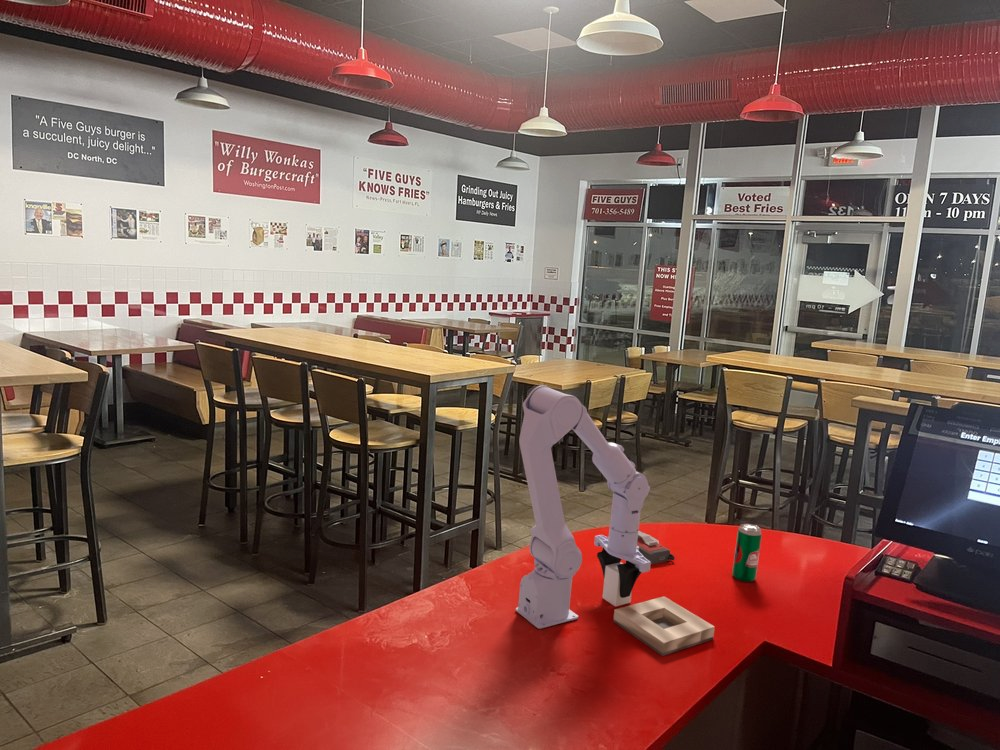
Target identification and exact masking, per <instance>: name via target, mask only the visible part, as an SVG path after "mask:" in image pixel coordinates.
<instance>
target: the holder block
mask: <svg viewBox="0 0 1000 750" xmlns="http://www.w3.org/2000/svg"><path fill="white" fill-rule="evenodd" d="M613 623H614V624H616V625H617V626H619V627H620V628H621V629H623V630H624V631H626V632H628V633H629V634H630V635H632V636H633V637H634V638H636V639H637V640H639V641H640V642H641V643H644V645H646V646H648V647H649V648H650V649H652V650H653V651H654V652H656V653H657V654H659V655H660V656H662V657H663V656H666V655H669V654H672V653H676V652H679V651H682V650H685V649H688V648H691V647H694V646H697V645H699V644H703V643H706V642H709V641H712V640H714V636H715V626H714V625H713V624H711V623H710V622H708V621H706V620H704V619H703V618H701V617H700V616H698V615H697V614H694V613H693V612H691V611H689V610H688V609H686V608H684V607H683V606H681V605H679V604H678V603H677V602H674V601H672V600H671V599H670V598H668V597H666V596H660V597H656V598H653V599H649V600H645V601H642V602H638V603H633V604H631V605H627V606H623V607H619V608H616V609H614V613H613Z"/></svg>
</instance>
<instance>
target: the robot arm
mask: <svg viewBox="0 0 1000 750" xmlns="http://www.w3.org/2000/svg"><path fill="white" fill-rule="evenodd" d="M522 408H523V413H524V414H523V418H522V419H523V420H522V425H521V429H520V434H519V438H518V441H519V448H520V454H521V457H522V463H523V468H524V469H523V470H524V473H525V478H526V482H527V486H528V492H529V498H530V503H531V507H532V512H533V517H534V521H535V524H534V525H533V526H532V527H531V528H530V530H529V531H530V542H529V553H530V555H531V556H532V558H534V560H533V561H534V563H533V564H534V569H533V570H532V571H531V572H529V573H527V574H526V575H525V574H524V576H522V578H521V580H520V582H519V595H518V606H517V607H516V608H515V611H516V612H517V613H518V614H519V615H521V616H522V617H523V618H524V619H525V620H527V621H528V622H529V623H530V624H531V625H533V626H534V627H535V628H537V629H538V630H541V629H544V628H548V627H551V626H555V625H558V624H563V623H566V622H570V621H574V620H577V619H579V615H578V614H576V613H575V612H574V611H572V610H571V609H570V607H571V606H570V605H571V595H572V584H573V577H575V575H576V573H577V572H578V571H579V569H580V568H581V566H582V563H583V553H582V551H581V549H580V548H579V547H578V545H577V544H576V540H575V537H574V535H573V533H572V532H571V530H570V529H569V528H568V526H567V524H566V522H565V521H566V520H565V516H564V510H563V506H562V500H561V495H560V490H559V484H558V480H557V479H558V478H557V475H556V468H555V462H554V458H553V457H554V456H553V453H552V447H553V446H554V445H555V444H557V443H558V442H559V441H560V440H561V439H563V438H564V437H565V435H567V434H568V433H569V432H570V431H573V432H574V433H575V434H576V435H577V436H578V438H579V439H580V440H581V441H582V442H583V443H584V444H585V445H586V446H587V448H588V449H589V450H590V451H591V452H592V457H591V461H592V463H593V464H594V466H595V467H596V468H597V469H598V471H599V472H600V473H601V474H602V475H603V477H604V478H605V479H606V480H607V481H606V483H607V484H606V485H607V488H608V489H609V490H611V492H612V500H611V509H610V518H609V519H610V520H609V530H608V536H605V535H603V534H598V535H595V536H594V541H593V544H594V546H596V547H601V548H602V550H601V551H599V552H597V553H596V557H597V559H598V561H599V564H600V566H601V570H602V574H603V579H604V578H605V568H606V565H610V564H615V563H619V562H622V560H623V561H625V562H624V563H623V564H619V565H617V567H618V570H619V575H620V597H622V598H624V597H628V596H630V594H631V591H632V592H633V588H634V586H635V584H636V582H637V580H638V578H639V577H640V576H641V574H642V573H648V572H650V570H651V565H652V564H651V562H650V561H649V560H647V559H646V558H645V557H644V556H643V555H642V554H641V553H640V552H639V551H638V550H639V546H637V539H638V531H639V528H640V520H641V512H642V509H643V508H644V502H645V499H647V497H648V495H649V493H650V490H651V486H649V481H648V478H647V477H646V475H645V474H643V473H641V472H639V471H637V470H636V464H635V462H633V461H632V460H629V458H628V457H627V456H626V454H625V453H624V451H625V448H624V446H622V445H621V444H618V443H615V442H611V441H610V442H609V441H607V439H606V438H605V437H604V435H603V434H602V432H601V431H600V428H598V426H597V425H596V423H595V422H594V420H593V418H592V417H591V415H590V414H589V413H588V410H587V407H586V406H585V405H584V404H582V403H581V401H580V399H579V398H577V396H575V395H572V394H567V393H564V392H561V391H558V390H556V389H553V388H552V387H549V386H548V385H539V386H536V387H534V388H533V389H532V390H531V391H530V392H529V394H528V396H527V397H526V398H525V400H524V401H523V402H522ZM631 595H632V594H631Z"/></svg>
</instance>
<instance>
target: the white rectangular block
mask: <svg viewBox="0 0 1000 750" xmlns="http://www.w3.org/2000/svg"><path fill="white" fill-rule="evenodd" d="M619 564H624V563H623V562H622V561H620V562H619V563H615V564H610V565H606V568H605V578H604V577H603V588H602V590H603V591H602V599H603V600H605V601H606V602H608V603H609V604H611V605H612V606H614V607H619V606H623V605H627V604H631V601H632V592H633V590H632V591H631V594H630V596H628V597H624V598H622V597H620V575H619V570H618V567H617V565H619Z"/></svg>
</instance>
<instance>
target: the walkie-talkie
mask: <svg viewBox="0 0 1000 750" xmlns="http://www.w3.org/2000/svg"><path fill="white" fill-rule="evenodd" d="M637 546H639V550H638V551H639V552H640V553H641V554H642V555H643V556H644V557H645V558H646V559H647V560H649V561H650V562H651V565H653V564H659V563H665V562H669V561H674V560H675V555H673V554H672V553H671V549H668V548H667V547H665V546H663V545H662V544H661V543H660V541H659V540H658V539H656V538H655V537H653V536H651V535H650V534H647V533H645V532H643V531H642V530H638V539H637Z"/></svg>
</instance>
